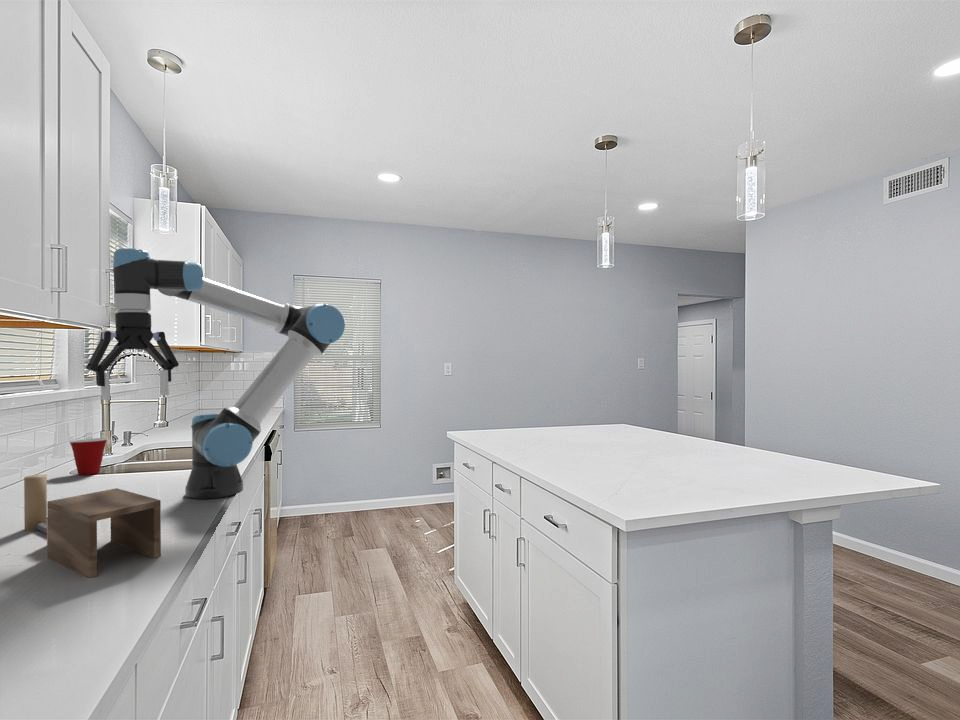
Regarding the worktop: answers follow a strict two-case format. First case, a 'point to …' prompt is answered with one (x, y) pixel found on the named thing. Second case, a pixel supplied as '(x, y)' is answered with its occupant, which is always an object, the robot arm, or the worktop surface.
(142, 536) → the shelf lane
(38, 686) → the worktop surface
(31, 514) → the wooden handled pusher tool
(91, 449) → the plastic cup
